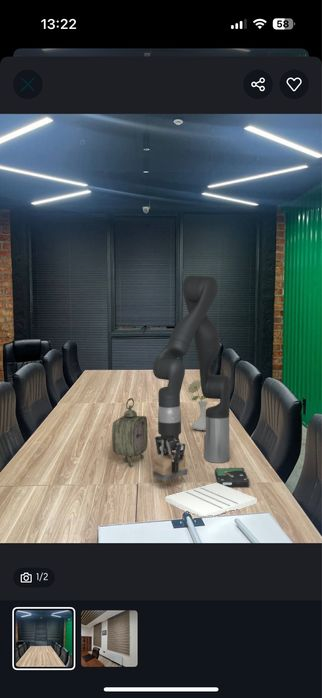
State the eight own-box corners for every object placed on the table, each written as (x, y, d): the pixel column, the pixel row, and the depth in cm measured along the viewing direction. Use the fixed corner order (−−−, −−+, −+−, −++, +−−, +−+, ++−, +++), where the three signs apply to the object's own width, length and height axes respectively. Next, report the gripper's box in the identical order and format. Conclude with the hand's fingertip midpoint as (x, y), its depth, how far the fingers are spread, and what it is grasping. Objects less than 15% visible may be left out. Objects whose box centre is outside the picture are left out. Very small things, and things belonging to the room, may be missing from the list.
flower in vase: (208, 426, 255) (208, 377, 253) (218, 431, 244) (218, 380, 242) (184, 428, 251) (184, 378, 249) (193, 433, 240) (193, 381, 238)
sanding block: (163, 480, 160) (162, 462, 159) (153, 476, 164) (152, 458, 163) (187, 474, 165) (187, 456, 165) (177, 469, 170) (176, 452, 169)
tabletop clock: (133, 468, 186) (132, 402, 184) (111, 466, 189) (110, 400, 187) (147, 458, 199) (147, 395, 198) (127, 456, 203) (126, 394, 201)
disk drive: (250, 489, 165) (243, 474, 180) (250, 481, 165) (243, 466, 179) (218, 489, 165) (214, 474, 180) (218, 481, 165) (214, 467, 180)
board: (165, 501, 153) (165, 496, 153) (216, 487, 166) (216, 482, 165) (203, 520, 139) (203, 515, 139) (257, 503, 151) (257, 498, 151)
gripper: (192, 421, 159) (192, 474, 161) (166, 414, 171) (166, 463, 173) (173, 425, 155) (174, 479, 157) (147, 417, 167) (148, 467, 168)
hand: (170, 470), depth 165 cm, fingers closed on sanding block, 4 cm apart
